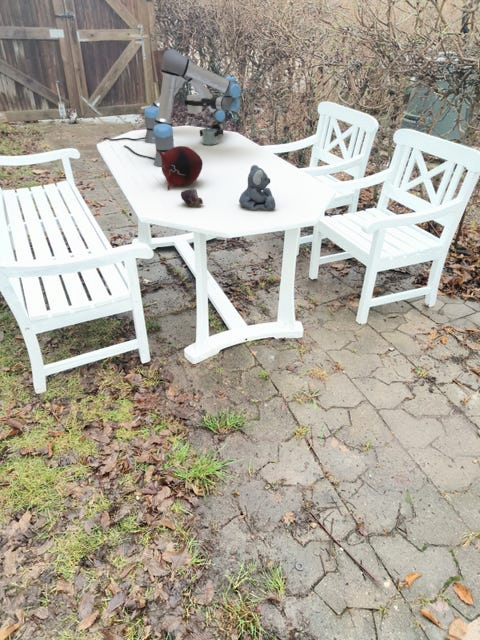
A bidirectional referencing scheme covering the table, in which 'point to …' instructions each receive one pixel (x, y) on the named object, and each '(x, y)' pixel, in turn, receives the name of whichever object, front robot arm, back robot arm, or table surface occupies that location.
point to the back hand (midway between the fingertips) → (208, 134)
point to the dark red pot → (181, 165)
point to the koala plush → (257, 191)
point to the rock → (191, 197)
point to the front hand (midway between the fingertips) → (189, 101)
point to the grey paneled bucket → (194, 108)
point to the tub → (209, 136)
